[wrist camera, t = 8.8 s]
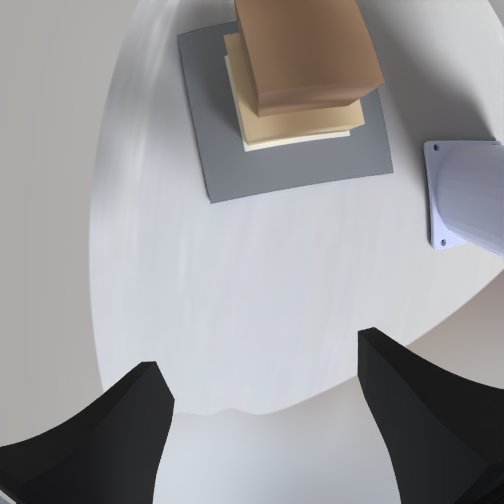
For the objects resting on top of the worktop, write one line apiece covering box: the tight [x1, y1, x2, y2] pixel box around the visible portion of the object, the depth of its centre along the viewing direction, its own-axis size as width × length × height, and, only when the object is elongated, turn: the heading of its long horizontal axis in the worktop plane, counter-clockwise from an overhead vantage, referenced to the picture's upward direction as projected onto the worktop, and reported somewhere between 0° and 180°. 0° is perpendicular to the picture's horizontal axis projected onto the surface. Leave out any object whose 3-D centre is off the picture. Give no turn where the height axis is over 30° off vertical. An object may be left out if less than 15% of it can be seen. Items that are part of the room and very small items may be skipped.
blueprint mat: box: [178, 21, 393, 204], centre depth 15 cm, size 12×12×1 cm
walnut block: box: [234, 0, 385, 118], centre depth 9 cm, size 4×4×4 cm
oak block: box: [223, 33, 365, 146], centre depth 13 cm, size 6×6×4 cm
